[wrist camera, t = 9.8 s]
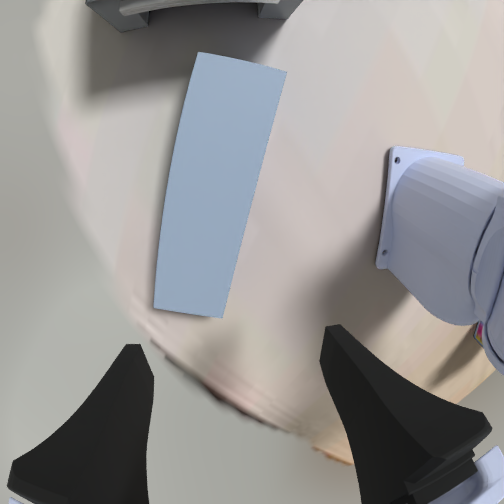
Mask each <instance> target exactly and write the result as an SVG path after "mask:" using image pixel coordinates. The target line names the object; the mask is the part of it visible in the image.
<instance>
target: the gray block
mask: <svg viewBox="0 0 504 504" xmlns="http://www.w3.org/2000/svg"><path fill="white" fill-rule="evenodd" d="M302 1H303V0H86V2H85V4H86V5H87V6H89V7H90V8H91V9H92V10H94V11H95V12H96V13H98V14H99V15H100V16H101V17H103V18H104V19H105V20H106V21H107V22H109V23H110V24H111V25H112V26H114V27H115V28H116V29H117V30H118V31H120V32H124V31H128V30H133V29H137V28H142V27H147V26H148V14H149V11H151V10H157V9H163V8H169V7H176V6H184V5H194V4H206V3H225V2H257V3H258V18H275V19H288V18H289V17H290V15H291V14H292V13H293V12H294V11H295V9H296V8H297V7H298V6H299V5H300V3H301V2H302Z"/></svg>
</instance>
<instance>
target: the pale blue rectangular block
mask: <svg viewBox="0 0 504 504" xmlns="http://www.w3.org/2000/svg"><path fill="white" fill-rule="evenodd" d="M286 74H287V72H285V71H282V70H279V69H275V68H271V67H268V66H264V65H260V64H256V63H252V62H248V61H244V60H240V59H235V58H230V57H225V56H220V55H215V54H209V53H203V52H198V54H197V58H196V61H195V65H194V68H193V72H192V75H191V79H190V83H189V86H188V90H187V94H186V98H185V102H184V106H183V110H182V115H181V119H180V123H179V128H178V132H177V137H176V142H175V147H174V152H173V157H172V162H171V167H170V173H169V179H168V185H167V191H166V197H165V203H164V210H163V217H162V225H161V232H160V241H159V249H158V259H157V269H156V280H155V293H154V308H157V309H163V310H169V311H175V312H181V313H188V314H194V315H201V316H208V317H216V318H223V314H224V310H225V306H226V302H227V298H228V294H229V290H230V286H231V282H232V278H233V274H234V270H235V266H236V262H237V258H238V254H239V250H240V246H241V242H242V238H243V235H244V231H245V227H246V223H247V219H248V215H249V211H250V208H251V204H252V200H253V196H254V192H255V188H256V185H257V181H258V177H259V173H260V169H261V166H262V162H263V158H264V154H265V151H266V147H267V143H268V140H269V136H270V132H271V128H272V125H273V121H274V117H275V114H276V110H277V106H278V103H279V99H280V96H281V92H282V88H283V85H284V81H285V78H286Z"/></svg>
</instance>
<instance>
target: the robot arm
mask: <svg viewBox="0 0 504 504" xmlns="http://www.w3.org/2000/svg"><path fill="white" fill-rule="evenodd" d="M396 157H397V162H396V163H395V158H396ZM384 250H385V252H384V253H382V252H383V251H384ZM376 267H377V268H378V269H389V270H390V271H391V272H392V273H393V275H394V276H395V277H396V278H397V279H398V280H399V281H400V282H401V283H402V284H403V285H404V286H405V287H406V288H407V289H408V290H409V291H410V292H411V293H412V295H413V296H414V297H415V298H416V299H417V300H418V301H419V302H420V303H421V304H422V305H423V307H424V308H425V309H426V310H427V311H429V312H430V313H431V314H432V315H434V316H436V317H437V318H439V319H441V320H443V321H445V322H447V323H450V324H454V325H461V326H464V325H472V324H475V323H477V322H478V321H480V320H481V321H482V322H483V323H484V325H483V329H482V343H483V348H484V350H485V353H486V355H487V357H488V359H489V361H490V362H491V363H492V365H493V366H494V367H495V368H496V369H497V370H498V371H499V372H500V373H501V374H503V375H504V182H502V181H499V180H497V179H495V178H492V177H490V176H487V175H485V174H482V173H480V172H477V171H475V170H472V169H469V168H466V167H464V159H463V157H462V156H459V155H453V154H448V153H442V152H437V151H430V150H424V149H417V148H410V147H402V146H393V147H392V148H391V149H390V154H389V168H388V179H387V189H386V198H385V206H384V214H383V221H382V228H381V234H380V240H379V246H378V252H377V257H376ZM320 365H321V368H322V372H323V376H324V379H325V382H326V385H327V387H328V390H329V392H330V394H331V397H332V399H333V401H334V404H335V406H336V408H337V411H338V413H339V415H340V418H341V420H342V423H343V425H344V428H345V430H346V433H347V437H348V440H349V444H350V448H351V451H352V455H353V459H354V464H355V468H356V473H357V478H358V482H359V488H360V495H361V502H362V504H497V503H499V501H501V500H502V499H503V498H504V456H503V454H502V452H501V451H500V449H499V447H498V445H496V446H495V447H493V448H492V449H491V450H490V451H488V452H487V453H486V454H484V455H483V456H482V457H480V458H479V459H478V460H477V461H475V462H473V460H472V458H473V457H474V456H475V454H474V452H473V450H472V449H473V448H474V447H476V446H477V445H478V444H479V443H480V442H481V441H482V440H483V439H484V438H485V437H487V436H488V435H489V433H490V432H491V431H492V427H491V425H490V423H489V422H488V420H487V418H486V417H485V415H484V414H483V413H482V412H479V411H476V410H472V409H469V408H465V407H462V406H459V405H456V404H454V403H451V402H448V401H446V400H444V399H441V398H439V397H437V396H435V395H433V394H431V393H429V392H427V391H425V390H423V389H421V388H420V387H418V386H416V385H415V384H413V383H411V382H410V381H408V380H407V379H405V378H403V377H402V376H400V375H399V374H398V373H396V372H395V371H394V370H392V369H391V368H390V367H388V366H387V365H386V364H384V363H383V362H382V361H381V360H379V359H378V358H377V357H376V356H375V355H374V354H372V353H371V352H370V351H369V350H368V349H367V348H365V347H364V346H363V345H362V344H361V343H360V342H359V341H358V340H357V339H355V338H354V337H353V336H352V335H351V334H350V333H349V332H348V331H347V330H346V329H345V328H343V327H342V326H341V325H340V324H338V325H333V326H327V327H325V333H324V339H323V345H322V350H321V356H320ZM153 394H154V376H153V373H152V371H151V369H150V366H149V364H148V362H147V359H146V357H145V354H144V352H143V349H142V347H141V345H140V344H126V345H125V347H124V348H123V349H122V351H121V352H120V354H119V355H118V356H117V358H116V359H115V361H114V362H113V364H112V365H111V367H110V368H109V370H108V371H107V372H106V374H105V375H104V376H103V378H102V379H101V381H100V382H99V383H98V385H97V386H96V388H95V389H94V390H93V391H92V393H91V394H90V395H89V396H88V398H87V399H86V400H85V401H84V403H83V404H82V405H81V406H80V407H79V408H78V410H77V411H76V412H75V413H74V414H73V415H72V416H71V417H70V418H69V419H68V420H67V421H66V422H65V423H64V424H63V425H62V426H61V427H60V428H59V429H57V430H56V431H55V432H54V433H53V434H52V435H51V436H50V437H48V438H47V439H46V440H45V441H43V442H42V443H41V444H39V445H38V446H36V447H35V448H34V449H32V450H31V451H29V452H27V453H26V454H24V455H22V456H21V457H19V458H17V459H16V460H13V463H12V466H11V471H10V475H9V479H8V484H7V487H8V488H9V489H10V490H11V491H13V492H14V493H16V494H18V495H19V496H21V497H23V498H25V499H27V500H28V501H30V502H32V503H34V504H149V498H148V490H147V470H146V451H147V440H148V433H149V425H150V418H151V412H152V405H153V396H154V395H153ZM9 504H23V503H21V502H19V501H17V500H15V499H13V498H12V497H11V498H9Z"/></svg>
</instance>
